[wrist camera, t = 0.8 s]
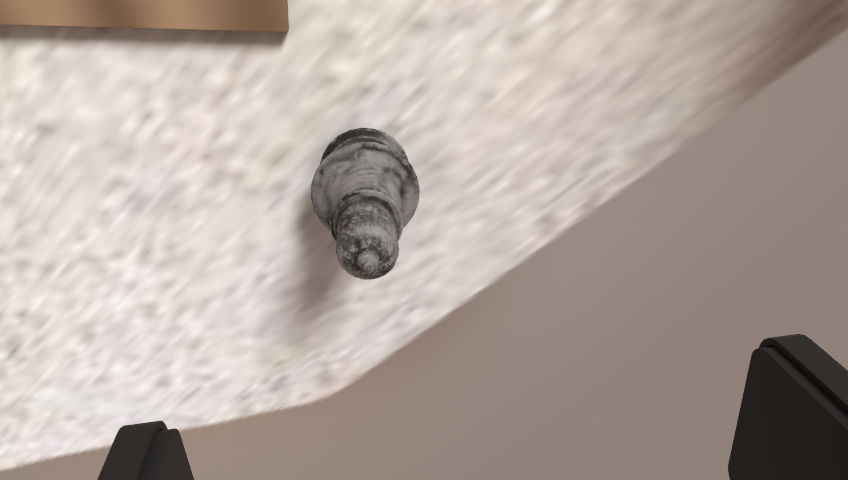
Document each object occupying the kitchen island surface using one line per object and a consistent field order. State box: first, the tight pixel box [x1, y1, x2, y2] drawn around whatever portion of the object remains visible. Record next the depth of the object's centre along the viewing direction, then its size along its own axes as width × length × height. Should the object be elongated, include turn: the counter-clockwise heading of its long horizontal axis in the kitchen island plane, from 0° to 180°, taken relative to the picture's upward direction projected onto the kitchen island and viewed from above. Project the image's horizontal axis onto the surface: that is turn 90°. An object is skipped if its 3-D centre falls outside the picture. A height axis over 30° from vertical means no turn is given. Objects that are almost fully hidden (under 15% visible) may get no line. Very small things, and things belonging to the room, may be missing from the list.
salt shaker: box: [311, 128, 420, 279], centre depth 32 cm, size 6×6×12 cm
